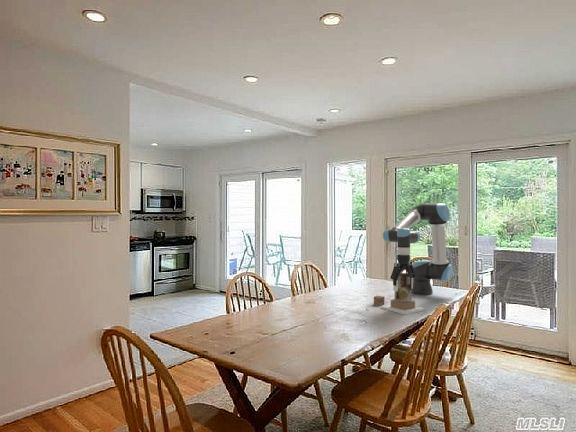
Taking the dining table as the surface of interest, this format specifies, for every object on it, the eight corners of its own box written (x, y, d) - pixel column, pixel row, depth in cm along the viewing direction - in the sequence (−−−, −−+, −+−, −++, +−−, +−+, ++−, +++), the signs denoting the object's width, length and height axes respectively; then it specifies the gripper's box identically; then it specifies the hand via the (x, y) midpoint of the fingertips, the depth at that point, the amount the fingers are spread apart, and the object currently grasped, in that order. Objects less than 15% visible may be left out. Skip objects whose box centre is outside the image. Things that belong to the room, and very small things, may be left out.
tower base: (400, 304, 249) (400, 296, 249) (425, 310, 234) (425, 301, 234) (381, 308, 239) (381, 299, 238) (405, 314, 224) (405, 305, 224)
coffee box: (409, 299, 239) (409, 273, 239) (411, 302, 232) (411, 274, 232) (394, 299, 240) (394, 272, 240) (395, 301, 233) (396, 274, 233)
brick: (376, 303, 251) (377, 295, 251) (384, 304, 248) (384, 296, 248) (373, 304, 247) (373, 296, 247) (381, 306, 244) (381, 297, 244)
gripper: (411, 252, 246) (411, 286, 246) (384, 255, 232) (384, 290, 232) (422, 253, 240) (421, 288, 240) (394, 256, 226) (394, 293, 226)
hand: (403, 289), depth 236 cm, fingers open, 13 cm apart
